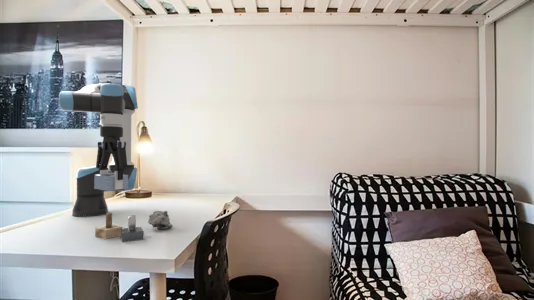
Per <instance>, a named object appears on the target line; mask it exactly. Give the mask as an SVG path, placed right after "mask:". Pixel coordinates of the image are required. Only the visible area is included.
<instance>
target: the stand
mask: <svg viewBox="0 0 534 300" xmlns="http://www.w3.org/2000/svg"><path fill="white" fill-rule="evenodd" d="M121 229H123V226H121V225H118V224H117V225H116V224H113V213H112V212H109V213H108V212H107V213H105V225H103V226H102V225H101V226H98V227H97V226H96V227H95V230H94V232H95V233H94V236H95V237H97V238H100V239H105V240H107V239H110V238H114V237H118V236H121Z"/></svg>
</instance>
